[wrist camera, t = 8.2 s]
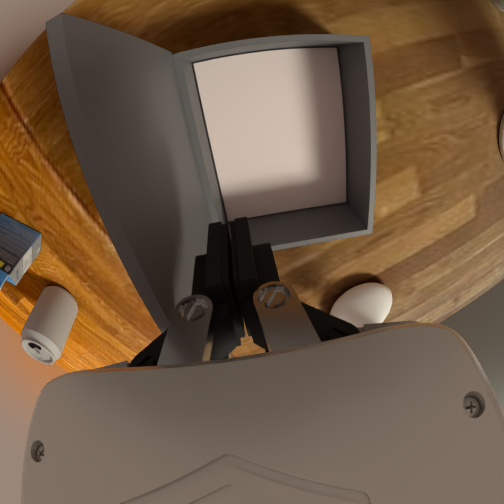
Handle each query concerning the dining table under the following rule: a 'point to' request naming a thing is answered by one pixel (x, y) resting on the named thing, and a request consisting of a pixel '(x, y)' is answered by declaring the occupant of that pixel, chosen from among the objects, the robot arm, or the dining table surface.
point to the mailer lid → (134, 154)
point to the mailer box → (285, 134)
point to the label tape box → (16, 249)
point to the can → (49, 324)
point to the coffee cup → (499, 4)
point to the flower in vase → (363, 304)
